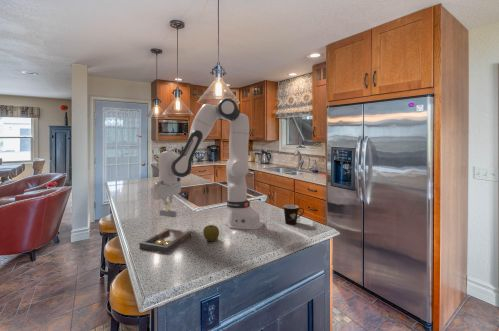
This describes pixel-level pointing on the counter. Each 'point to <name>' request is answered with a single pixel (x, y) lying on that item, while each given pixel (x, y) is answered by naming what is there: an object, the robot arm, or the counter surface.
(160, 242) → the brass chip
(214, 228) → the apple
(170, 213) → the grey post with peg
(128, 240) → the counter surface
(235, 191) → the robot arm
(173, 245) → the grey angled bracket
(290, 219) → the coffee mug
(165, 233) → the walnut slot rails
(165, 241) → the brass chip
